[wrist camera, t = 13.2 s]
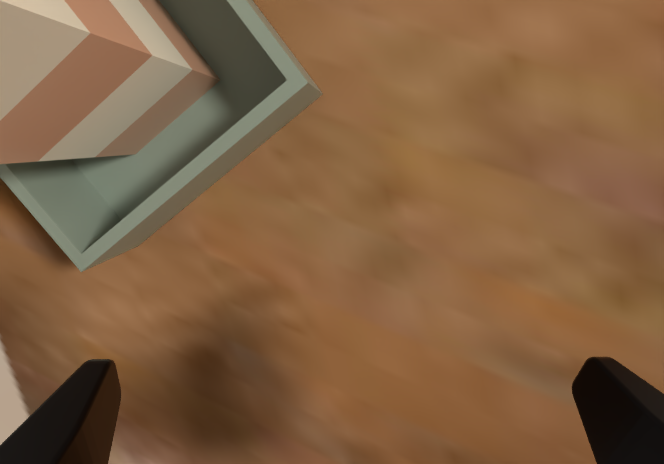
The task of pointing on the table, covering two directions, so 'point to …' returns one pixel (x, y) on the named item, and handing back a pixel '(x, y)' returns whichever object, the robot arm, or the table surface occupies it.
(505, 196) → the table surface
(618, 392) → the robot arm
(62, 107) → the tile stack
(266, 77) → the box
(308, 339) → the table surface
